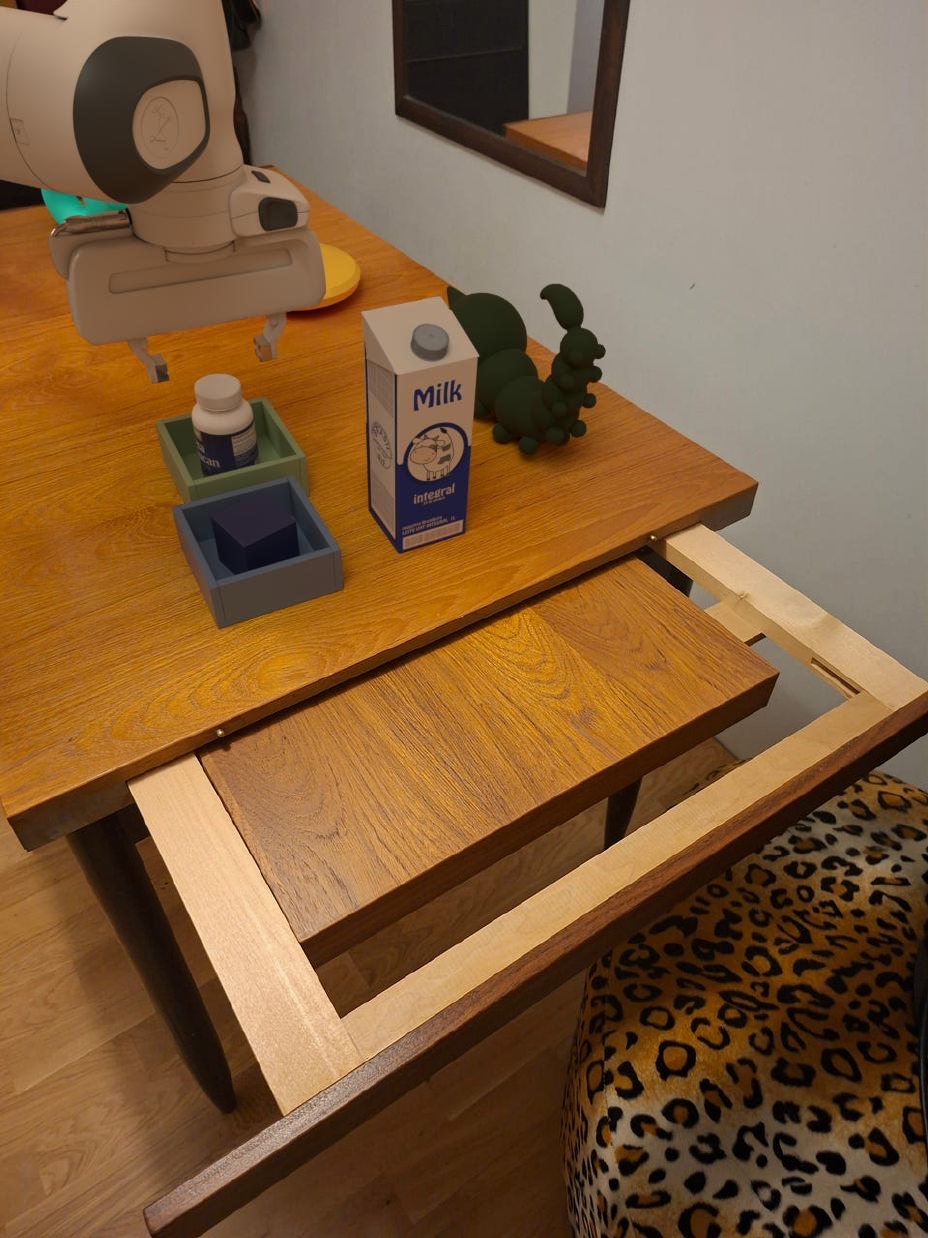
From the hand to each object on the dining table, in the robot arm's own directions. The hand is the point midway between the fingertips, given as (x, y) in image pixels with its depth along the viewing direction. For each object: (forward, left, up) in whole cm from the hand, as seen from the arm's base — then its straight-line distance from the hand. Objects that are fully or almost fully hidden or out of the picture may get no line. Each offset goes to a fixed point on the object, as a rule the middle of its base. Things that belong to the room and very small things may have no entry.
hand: (214, 368), depth 75 cm
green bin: (0, 0, -12) cm, 12 cm away
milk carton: (+13, -13, -12) cm, 22 cm away
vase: (+19, +33, -12) cm, 40 cm away
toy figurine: (+29, -1, -12) cm, 32 cm away
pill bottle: (0, 0, -12) cm, 12 cm away
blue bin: (-2, -13, -12) cm, 18 cm away
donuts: (+1, +61, -12) cm, 62 cm away
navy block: (-2, -13, -11) cm, 17 cm away
